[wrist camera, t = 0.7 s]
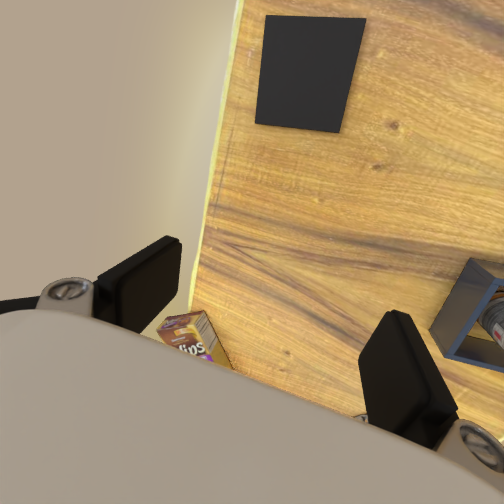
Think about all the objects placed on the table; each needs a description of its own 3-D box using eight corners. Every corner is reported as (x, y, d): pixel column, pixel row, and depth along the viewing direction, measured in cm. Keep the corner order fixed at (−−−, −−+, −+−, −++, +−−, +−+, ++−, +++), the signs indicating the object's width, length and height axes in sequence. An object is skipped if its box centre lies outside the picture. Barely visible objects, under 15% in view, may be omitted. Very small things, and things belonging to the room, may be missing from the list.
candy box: (189, 390, 49) (153, 329, 44) (199, 373, 53) (167, 315, 48) (227, 390, 45) (193, 323, 41) (235, 371, 49) (204, 308, 45)
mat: (266, 17, 26) (265, 14, 25) (365, 20, 24) (366, 18, 24) (255, 123, 30) (254, 123, 30) (338, 133, 28) (339, 132, 28)
